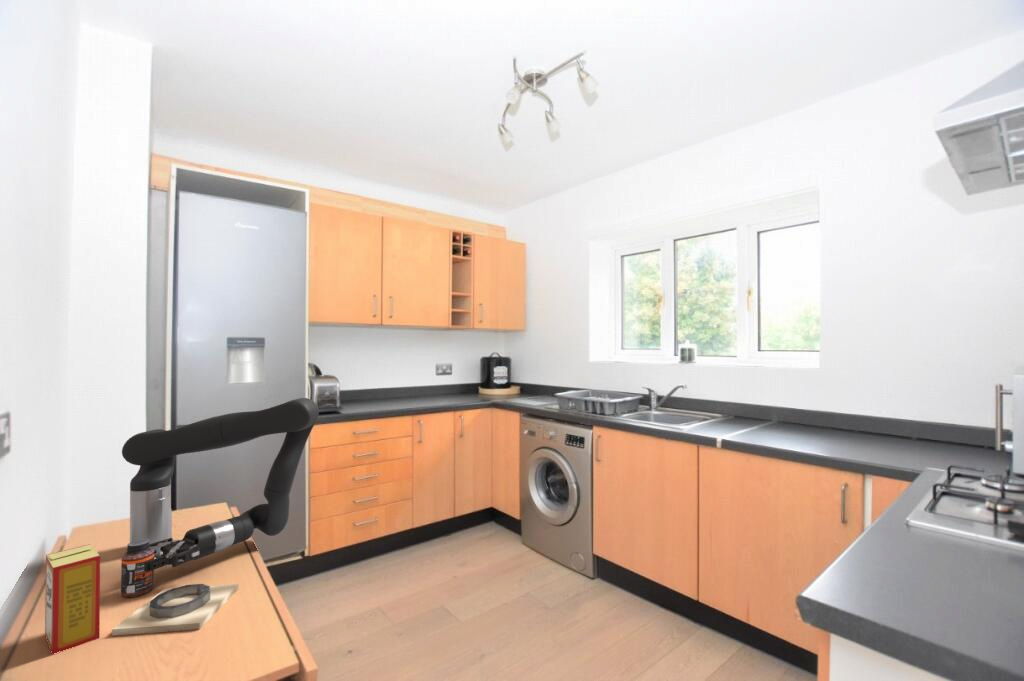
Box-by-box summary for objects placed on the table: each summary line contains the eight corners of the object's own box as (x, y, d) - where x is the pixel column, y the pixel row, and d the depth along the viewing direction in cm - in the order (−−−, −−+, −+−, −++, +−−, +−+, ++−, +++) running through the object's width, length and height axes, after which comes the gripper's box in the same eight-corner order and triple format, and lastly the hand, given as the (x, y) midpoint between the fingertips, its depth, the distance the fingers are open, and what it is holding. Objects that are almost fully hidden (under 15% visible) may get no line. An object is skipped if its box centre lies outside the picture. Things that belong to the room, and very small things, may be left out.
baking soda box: (99, 637, 90) (100, 553, 91) (52, 655, 85) (53, 566, 86) (89, 621, 96) (90, 542, 97) (45, 636, 91) (46, 553, 92)
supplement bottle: (135, 599, 105) (135, 548, 105) (113, 597, 106) (114, 546, 106) (160, 586, 111) (160, 538, 111) (139, 584, 112) (139, 536, 112)
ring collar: (169, 594, 104) (169, 585, 105) (219, 590, 106) (219, 582, 106) (137, 620, 94) (137, 611, 94) (192, 616, 95) (192, 607, 95)
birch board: (164, 594, 107) (164, 588, 107) (238, 589, 109) (238, 583, 109) (112, 635, 91) (112, 629, 91) (199, 629, 93) (199, 623, 93)
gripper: (194, 520, 126) (121, 542, 112) (225, 528, 119) (151, 553, 105) (194, 548, 126) (121, 574, 111) (225, 558, 119) (151, 587, 104)
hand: (136, 563), depth 108 cm, fingers open, 8 cm apart
